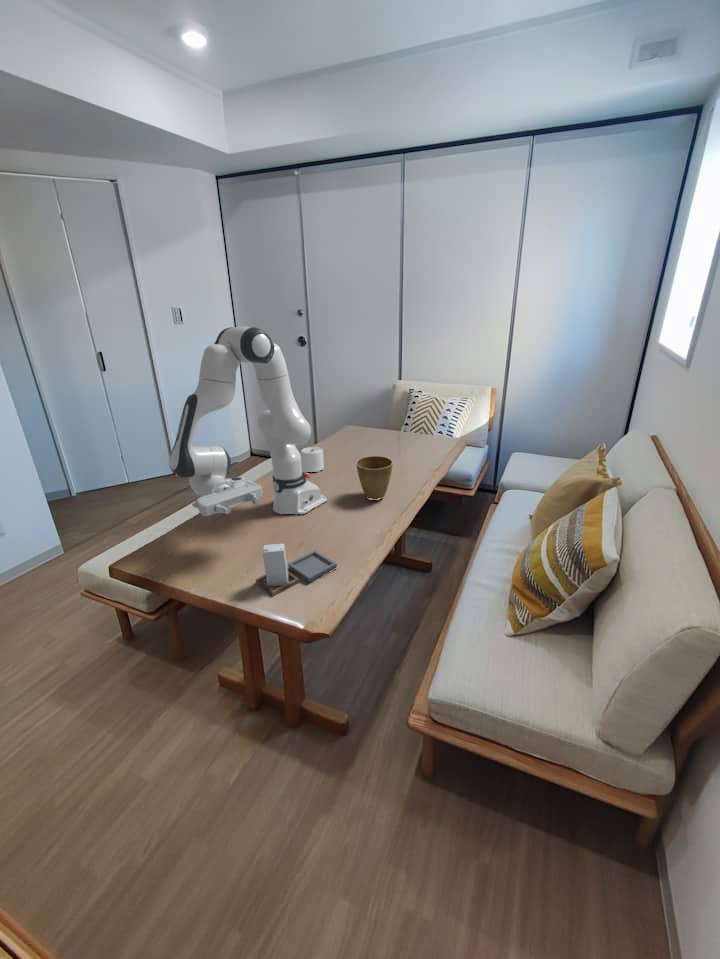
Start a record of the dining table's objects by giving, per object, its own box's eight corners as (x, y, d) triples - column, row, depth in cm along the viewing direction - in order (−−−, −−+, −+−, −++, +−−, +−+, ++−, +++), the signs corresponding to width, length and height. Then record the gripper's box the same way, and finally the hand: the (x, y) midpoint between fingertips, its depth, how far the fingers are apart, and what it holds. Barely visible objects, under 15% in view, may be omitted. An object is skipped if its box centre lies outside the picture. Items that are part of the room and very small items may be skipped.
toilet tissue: (327, 466, 213) (326, 447, 209) (319, 475, 202) (317, 455, 198) (307, 464, 215) (305, 446, 211) (298, 473, 204) (296, 453, 200)
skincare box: (288, 577, 127) (285, 542, 123) (287, 586, 123) (284, 550, 119) (268, 578, 127) (263, 543, 122) (266, 587, 123) (262, 552, 118)
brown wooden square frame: (281, 569, 131) (281, 566, 130) (299, 582, 125) (299, 578, 124) (256, 582, 125) (255, 579, 125) (273, 596, 119) (273, 592, 119)
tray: (315, 555, 138) (314, 550, 137) (336, 568, 131) (336, 563, 130) (288, 569, 131) (288, 563, 130) (309, 583, 124) (309, 578, 123)
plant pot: (364, 488, 187) (363, 454, 181) (396, 493, 182) (397, 458, 176) (351, 502, 174) (350, 466, 168) (385, 507, 169) (386, 470, 163)
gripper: (187, 493, 129) (208, 507, 119) (247, 475, 142) (270, 487, 132) (191, 512, 131) (212, 527, 122) (249, 492, 144) (272, 505, 135)
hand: (243, 506), depth 127 cm, fingers open, 8 cm apart
